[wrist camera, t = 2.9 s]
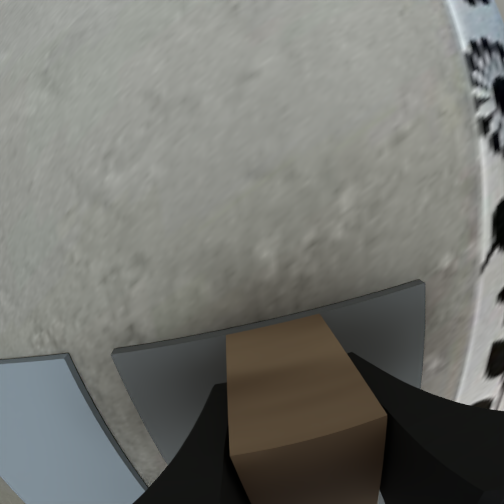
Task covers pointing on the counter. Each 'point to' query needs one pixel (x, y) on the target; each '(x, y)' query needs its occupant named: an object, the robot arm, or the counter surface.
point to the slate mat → (58, 438)
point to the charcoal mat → (205, 359)
